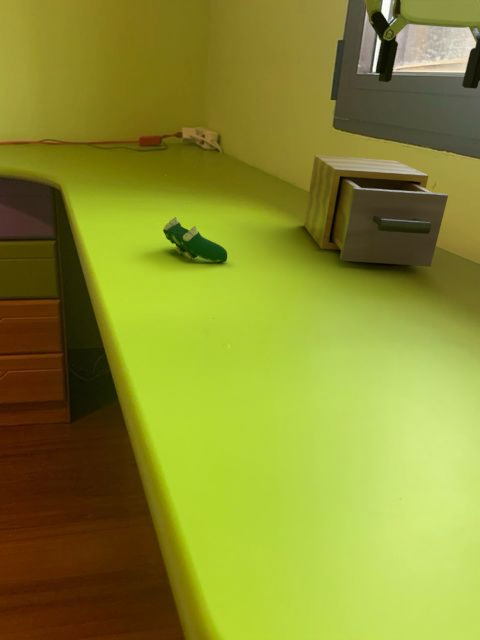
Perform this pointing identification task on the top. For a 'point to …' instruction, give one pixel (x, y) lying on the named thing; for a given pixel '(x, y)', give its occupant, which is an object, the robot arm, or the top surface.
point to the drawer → (386, 221)
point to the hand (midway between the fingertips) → (426, 84)
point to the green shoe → (193, 242)
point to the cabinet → (328, 182)
